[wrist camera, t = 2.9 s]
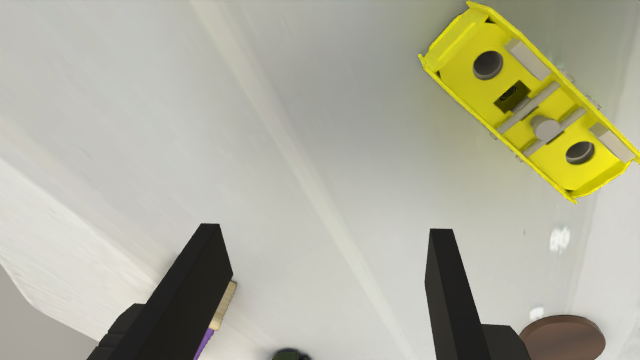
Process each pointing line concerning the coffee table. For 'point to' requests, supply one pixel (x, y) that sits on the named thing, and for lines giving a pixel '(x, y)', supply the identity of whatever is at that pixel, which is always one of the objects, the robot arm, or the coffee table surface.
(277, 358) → the character mug
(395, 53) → the coffee table surface
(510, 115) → the yellow toy chassis
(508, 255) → the coffee table surface
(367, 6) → the coffee table surface
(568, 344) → the walnut coaster
